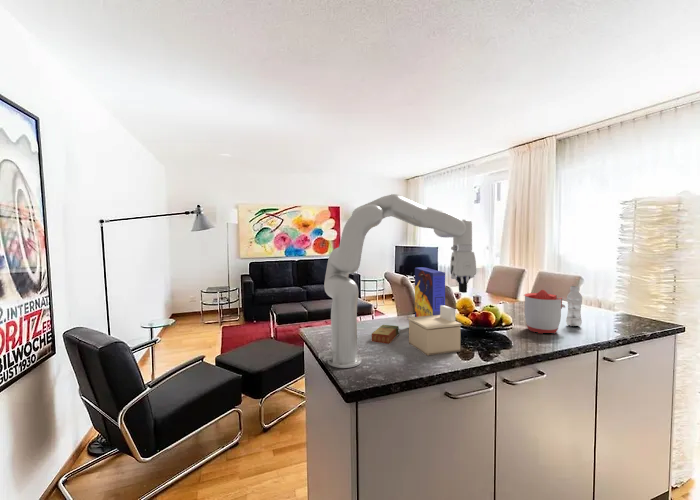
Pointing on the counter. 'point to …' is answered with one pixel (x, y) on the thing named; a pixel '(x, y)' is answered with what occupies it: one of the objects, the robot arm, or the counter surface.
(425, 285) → the cereal box
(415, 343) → the cardboard box
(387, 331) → the carton
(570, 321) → the plastic bottle
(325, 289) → the robot arm
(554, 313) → the citrus juicer
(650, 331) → the counter surface
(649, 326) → the counter surface
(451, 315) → the box lid
